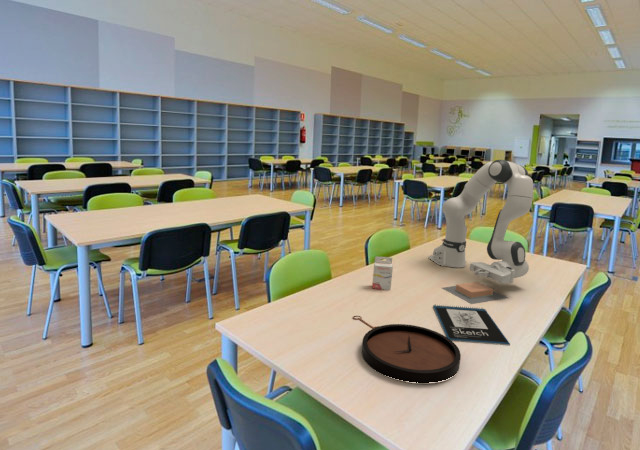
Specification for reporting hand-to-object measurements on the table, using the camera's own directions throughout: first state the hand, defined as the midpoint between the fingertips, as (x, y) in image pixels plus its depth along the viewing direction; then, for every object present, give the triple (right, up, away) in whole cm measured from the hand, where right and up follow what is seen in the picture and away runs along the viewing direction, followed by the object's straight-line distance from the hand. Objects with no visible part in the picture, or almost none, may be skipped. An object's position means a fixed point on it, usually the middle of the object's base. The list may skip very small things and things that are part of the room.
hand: (476, 273), depth 191 cm
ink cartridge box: (-43, -8, +5) cm, 44 cm away
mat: (0, -10, +2) cm, 10 cm away
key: (-54, -16, -33) cm, 65 cm away
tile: (+5, -7, +4) cm, 10 cm away
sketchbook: (-15, -17, -29) cm, 37 cm away
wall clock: (-43, -21, -55) cm, 73 cm away
